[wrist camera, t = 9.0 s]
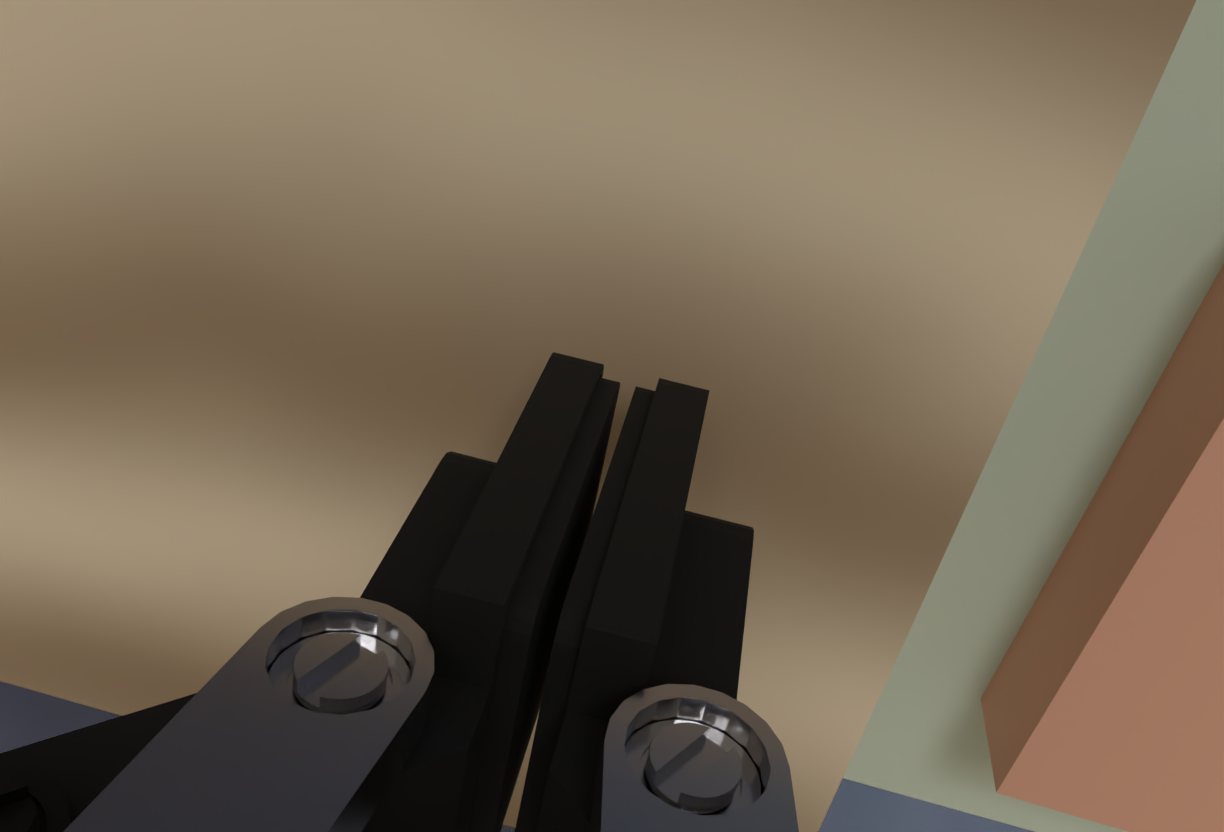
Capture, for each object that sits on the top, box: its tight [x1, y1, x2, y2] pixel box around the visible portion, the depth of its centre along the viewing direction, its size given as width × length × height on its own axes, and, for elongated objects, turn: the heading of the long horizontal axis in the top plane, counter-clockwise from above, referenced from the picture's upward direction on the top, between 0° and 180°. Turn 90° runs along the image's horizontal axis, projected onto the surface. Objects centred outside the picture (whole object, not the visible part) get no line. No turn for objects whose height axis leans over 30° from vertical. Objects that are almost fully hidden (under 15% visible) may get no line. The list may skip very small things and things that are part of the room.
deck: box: [0, 0, 1196, 832], centre depth 14 cm, size 14×16×4 cm
